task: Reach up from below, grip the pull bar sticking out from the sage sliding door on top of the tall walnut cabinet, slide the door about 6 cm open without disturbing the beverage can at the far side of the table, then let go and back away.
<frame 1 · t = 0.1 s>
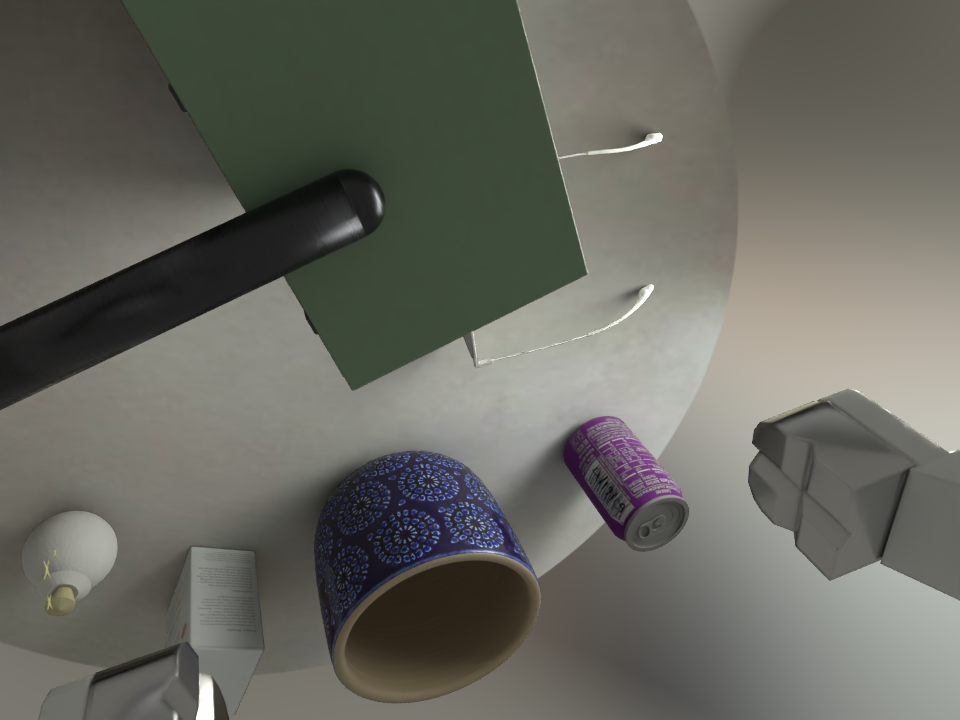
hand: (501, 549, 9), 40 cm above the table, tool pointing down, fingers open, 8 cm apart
small box: (210, 578, 60), on the table
eyeglasses: (554, 238, 54), on the table
cabinet: (299, 48, 41), on the table
door: (345, 201, 20), point 26 cm above the table, slide at 0.0 cm
ornament: (74, 515, 52), on the table
beverage can: (591, 439, 67), on the table
planter: (394, 498, 62), on the table
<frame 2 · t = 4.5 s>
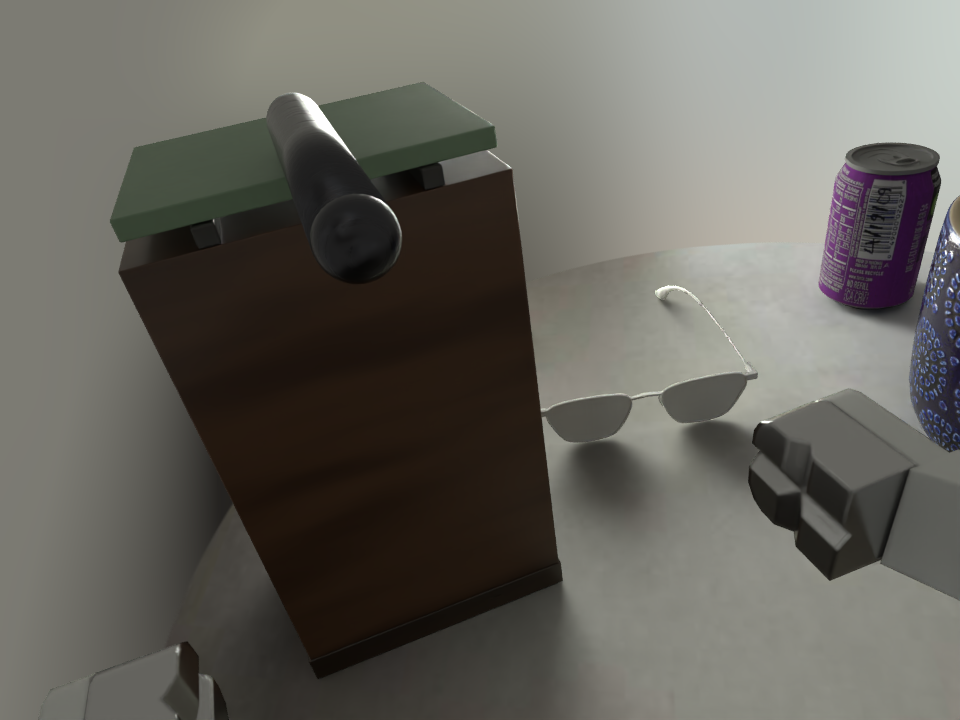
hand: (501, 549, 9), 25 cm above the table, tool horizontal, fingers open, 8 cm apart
eyeglasses: (613, 364, 55), on the table
cabinet: (420, 560, 41), on the table
door: (298, 134, 25), point 26 cm above the table, slide at 0.0 cm
beverage can: (862, 296, 58), on the table
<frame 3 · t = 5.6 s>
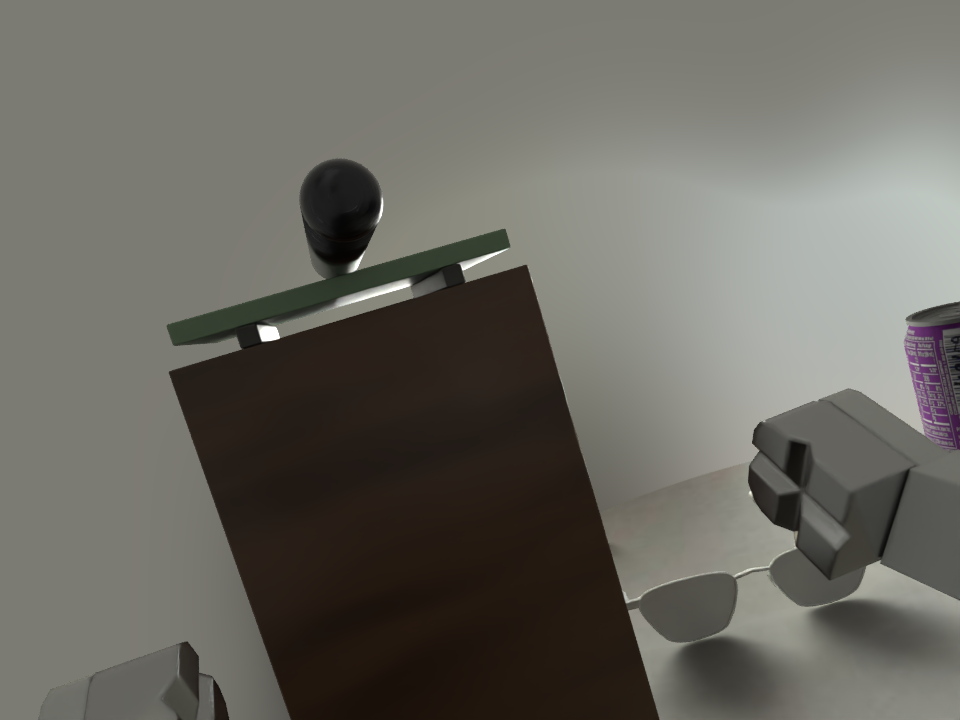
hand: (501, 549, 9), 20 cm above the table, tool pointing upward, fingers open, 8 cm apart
eyeglasses: (714, 563, 49), on the table
door: (338, 265, 28), point 26 cm above the table, slide at 0.0 cm
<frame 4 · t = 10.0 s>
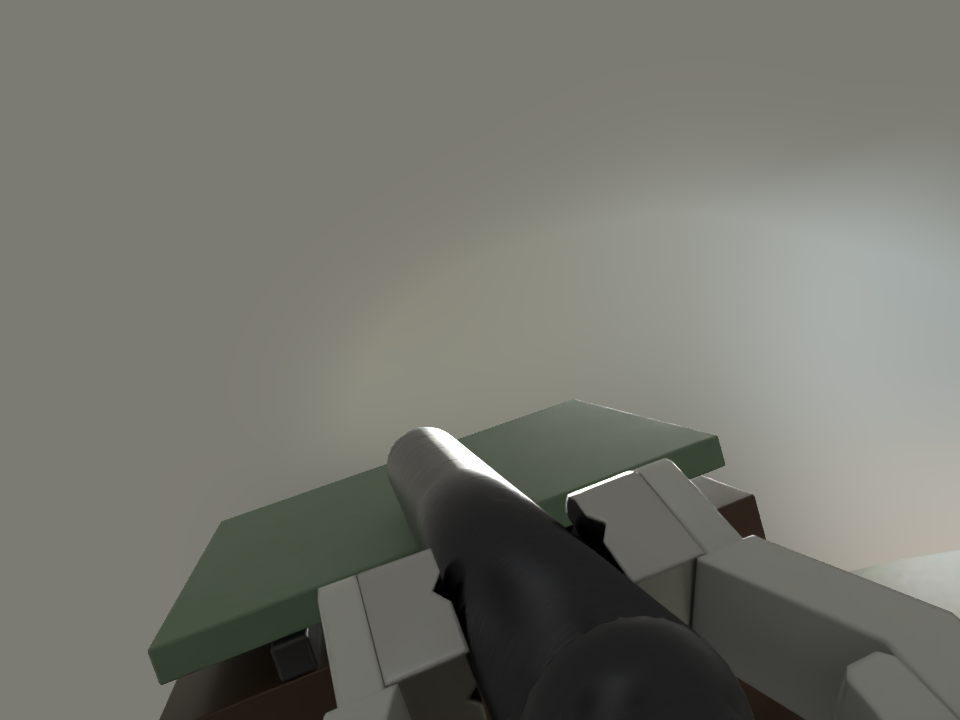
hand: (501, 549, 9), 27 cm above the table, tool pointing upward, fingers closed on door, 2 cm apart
door: (431, 481, 17), point 26 cm above the table, slide at 0.0 cm, touching gripper
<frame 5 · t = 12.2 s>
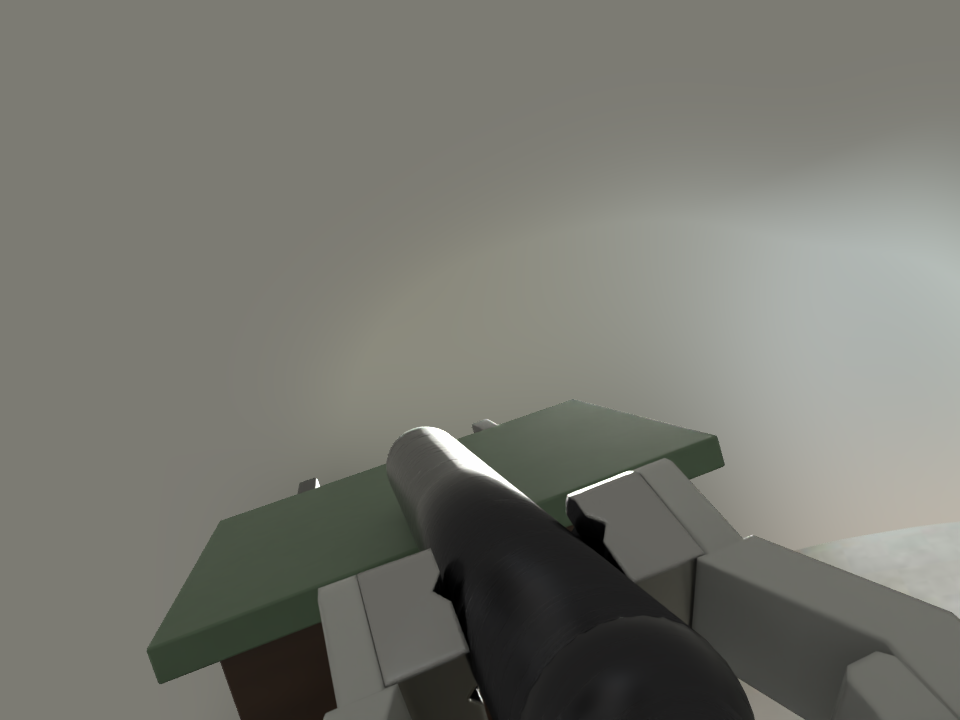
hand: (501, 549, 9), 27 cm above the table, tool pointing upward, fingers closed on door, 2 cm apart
door: (430, 481, 17), point 26 cm above the table, slide at 6.0 cm, touching gripper
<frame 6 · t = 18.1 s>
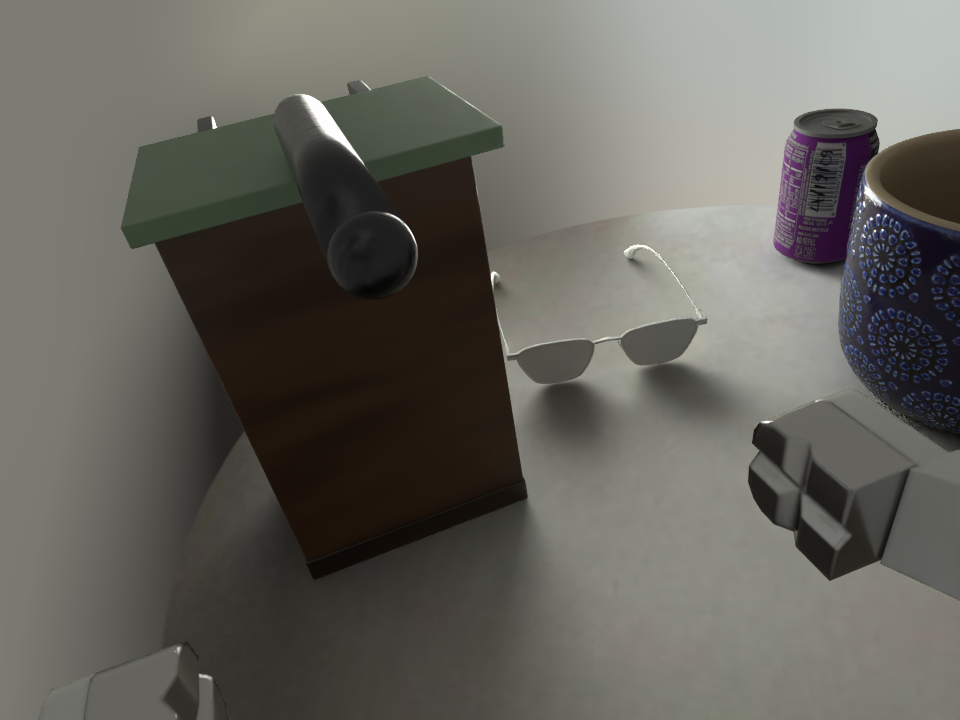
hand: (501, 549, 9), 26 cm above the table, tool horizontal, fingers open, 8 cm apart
eyeglasses: (582, 316, 60), on the table
cabinet: (404, 483, 46), on the table
door: (305, 135, 25), point 26 cm above the table, slide at 6.1 cm
beverage can: (813, 252, 63), on the table
planter: (957, 386, 46), on the table
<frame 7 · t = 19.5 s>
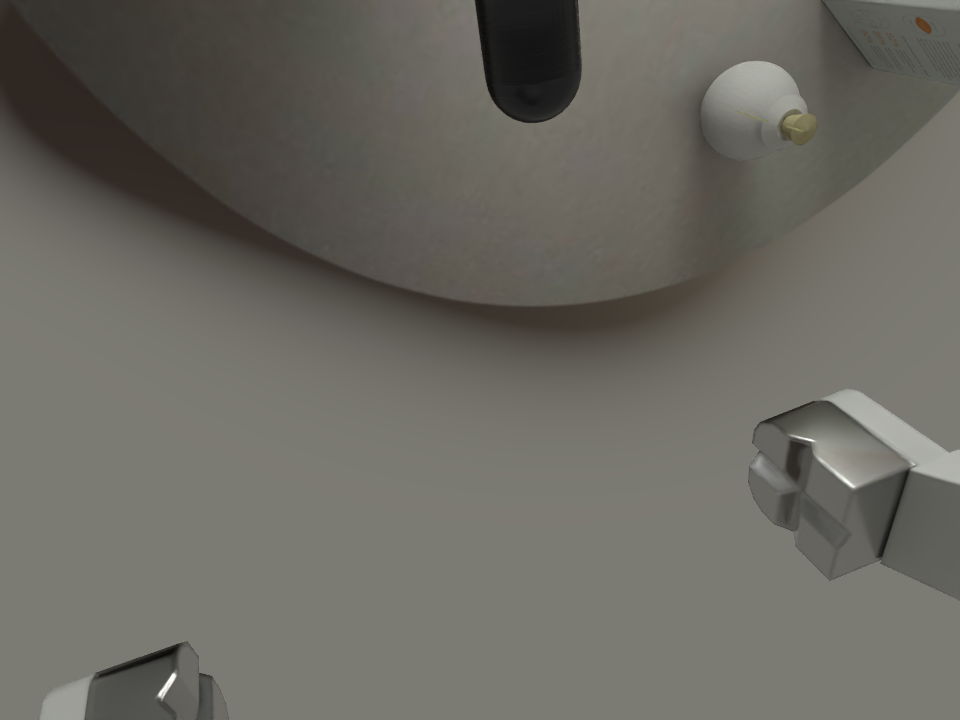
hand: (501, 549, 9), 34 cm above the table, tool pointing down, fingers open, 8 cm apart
ornament: (710, 100, 46), on the table
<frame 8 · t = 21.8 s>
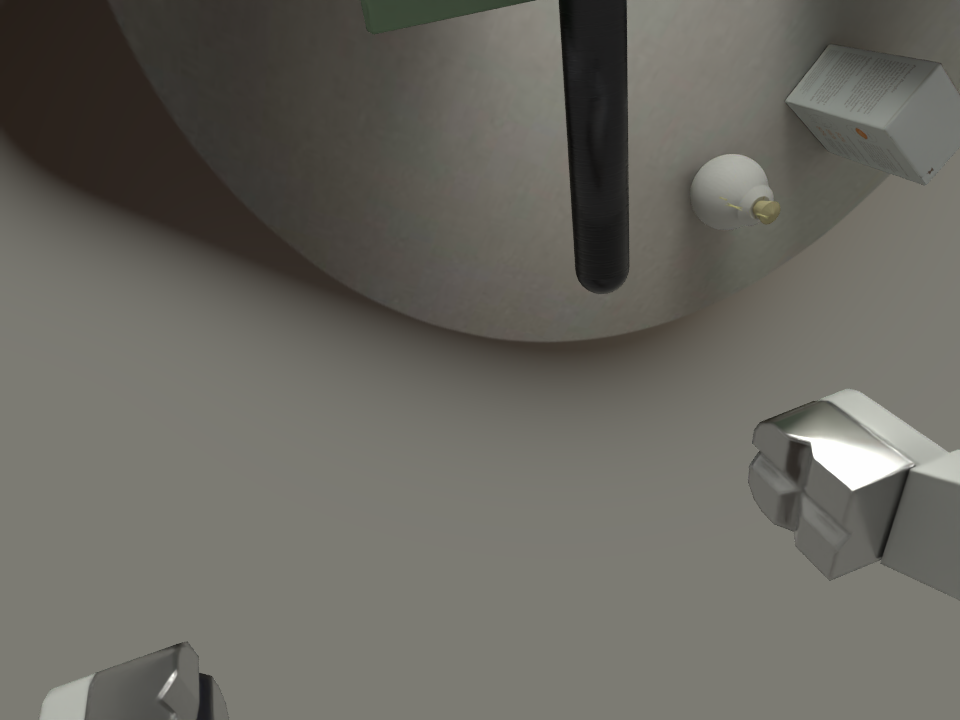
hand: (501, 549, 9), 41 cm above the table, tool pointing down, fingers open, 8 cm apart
small box: (825, 99, 58), on the table
ornament: (698, 179, 58), on the table
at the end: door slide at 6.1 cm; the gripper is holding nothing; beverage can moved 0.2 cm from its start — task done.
